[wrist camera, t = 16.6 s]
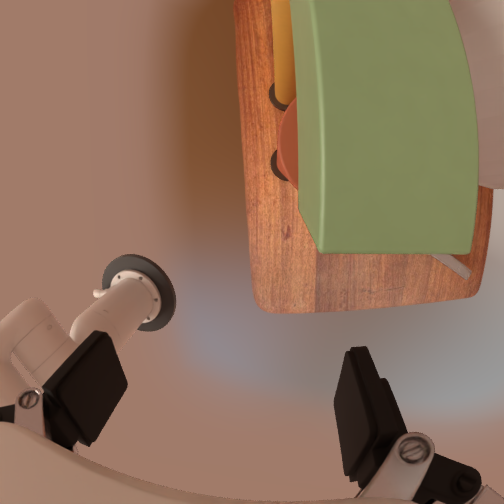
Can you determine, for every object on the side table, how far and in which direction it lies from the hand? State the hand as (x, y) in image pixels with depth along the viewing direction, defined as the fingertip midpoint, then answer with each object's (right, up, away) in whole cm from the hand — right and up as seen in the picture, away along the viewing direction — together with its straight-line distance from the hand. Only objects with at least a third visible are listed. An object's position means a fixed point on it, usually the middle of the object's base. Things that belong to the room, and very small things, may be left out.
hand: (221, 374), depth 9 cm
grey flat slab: (+35, +6, +35) cm, 50 cm away
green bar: (+4, +13, -4) cm, 15 cm away
